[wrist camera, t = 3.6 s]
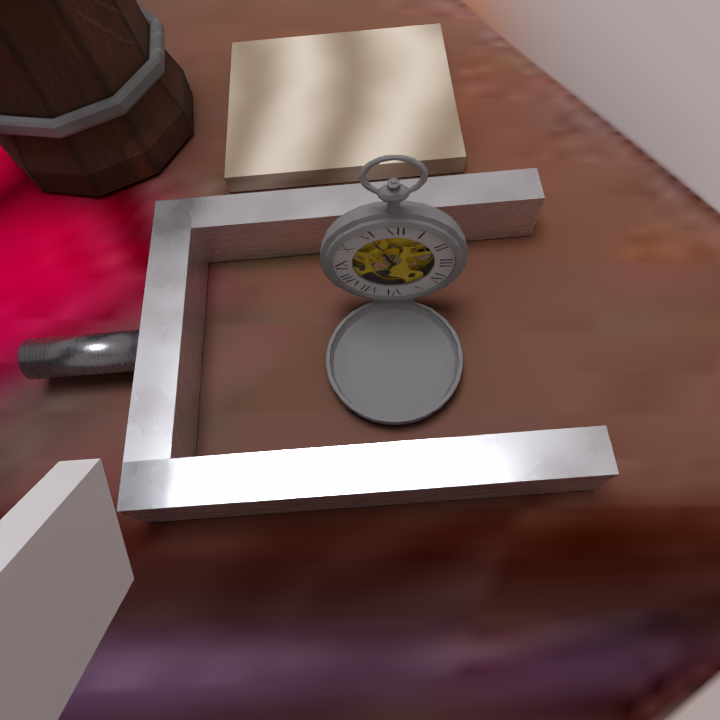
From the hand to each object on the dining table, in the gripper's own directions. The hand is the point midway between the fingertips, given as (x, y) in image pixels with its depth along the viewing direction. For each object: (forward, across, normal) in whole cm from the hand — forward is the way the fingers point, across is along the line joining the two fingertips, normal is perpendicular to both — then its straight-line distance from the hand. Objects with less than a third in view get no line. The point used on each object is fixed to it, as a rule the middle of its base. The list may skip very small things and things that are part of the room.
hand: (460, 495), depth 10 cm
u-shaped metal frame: (+18, -5, -3) cm, 19 cm away
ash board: (+30, -2, +9) cm, 31 cm away
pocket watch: (+18, 0, -3) cm, 18 cm away
